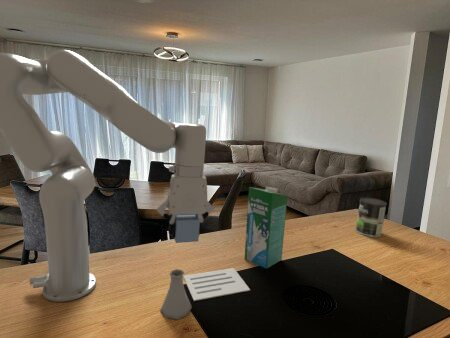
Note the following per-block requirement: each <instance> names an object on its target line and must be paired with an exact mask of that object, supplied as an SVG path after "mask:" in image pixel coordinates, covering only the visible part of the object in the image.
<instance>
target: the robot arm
mask: <svg viewBox="0 0 450 338" xmlns="http://www.w3.org/2000/svg"><path fill="white" fill-rule="evenodd" d="M61 93H62V94H63V93H69V94H70V95H71V96H73V97H75V98H76V99H78V101H81V102H82V103H84V104H85V105H87V106H88V107H90V108H91V109H92V110H93V111H95V112H97V113H98V114H99V115H101V116H102V117H103V118H104V119H105V120H107V122H109V123H110V124H112V125H113V126H114V127H115V128H117V130H119V131H120V132H122V133H123V134H124V135H125V136H127V137H128V138H130V139H131V140H133V141H134V142H136V143H137V144H138V145H140V146H142V147H143V148H145V149H147V150H148V151H149V152H152V153H155V154H156V153H157V154H163V153H167V152H168V151H169V150H171V149H175V154H174V155H175V156H174V164H173V165H172V166H168V171H169V172H172V173H174V174H172V175H171V176H170V177H171V178H170V181H169V185H168V186H169V187H168V194H167V199H166V200H164V202H162V203H161V204H160V206H158V207H157V209H156V210H157V212H158V214H159V215H160V216H161V217H163V218H164V219H165V220H166V221H167V223H168V235H170V237H171V239H174V238H175V231H176V224H175V220H176V217H177V215H196V216H197V217H198V218H199V220H200V226H199V233H201V232H202V224H203V223H204V221H205V219H206V218H207V217H208V216H209V215H210V214H211V213H212V212H214V211H215V208H214V206H213V205H212V204H211V203H210V202H209V201H208V182H207V177H206V176H205V175H204V169H205V168H204V167H205V155H206V154H205V152H206V141H207V129H206V127H205V125H203V124H200V123H192V122H191V123H190V122H181V123H180V122H174V121H169V120H166V119H165V120H164V119H161V118H159V117H158V116H156V115H155V114H154V113H152V112H151V111H149V110H148V109H147V108H145V107H144V106H143V105H141V104H140V103H139V102H137V101H136V100H135V98H134V97H132V95H130V93H129V92H128V91H127V90H126V88H125V87H123V86H122V85H121V84H119V83H118V82H117V81H115V80H113V78H111V77H109V76H108V75H107V74H105V73H104V72H102V71H101V70H100V69H98V68H97V67H95V66H94V65H93V64H92V63H91V61H90V60H88V59H87V58H85V57H84V56H82V55H80V54H78V53H76V52H74V51H71V50H69V49H68V50H67V49H60V50H56V51H54V52H52V53H51V54H50V55H49V56H48V57H47V59H40V60H32V59H29V58H26V57H24V56H21V55H17V54H14V53H10V52H9V53H8V52H0V133H1V134H2V135H3V137H4V139H5V140H6V142H7V143H8V144H9V147H11V149H12V150H13V152H14V153H15V155H16V156H17V158H18V160H19V161H20V162H21V163H22V165H23V166H24V167H25V168H26V169H27V170H29V171H31V172H34V173H44V172H48V171H49V172H50V173H51V175H50V176H49V177H47V178H46V179H45V181H44V182H43V183H42V184H41V187H40V188H39V190H40V191H39V194H38V195H39V197H38V198H39V204H40V207H41V210H42V215H43V219H44V220H43V221H44V229H45V242H46V253H47V255H46V256H47V266H48V267H47V269H48V271H47V272H48V273H44V275H35V276H30V278H29V285H30V286H32V289H39V288H42V296H43V297H44V298H45V299H46V300H48V301H50V302H54V303H55V302H57V303H61V302H63V303H64V302H70V301H73V300H77V299H80V298H82V297H84V296H86V295H88V294H89V293H91V292H92V291H93V290H94V289H95V287H96V285H97V278H96V276H95V275H94V274H92V273H91V272H90V256H89V255H90V253H89V235H88V234H89V233H88V219H87V213H86V209H85V200H86V199H87V198H88V197H89V196H90V194H91V193H93V191H94V189H95V186H96V179H95V176H94V173H93V171H92V169H91V168H90V166H89V164H88V163H87V161H86V160H85V158H84V156H83V155H82V152H80V151H79V149H78V147H77V146H76V144H75V143H74V141H73V140H72V139H71V138H70V137H69V136H68V135H66V134H65V133H63V132H61V131H58V130H49V129H48V128H47V127H46V125H45V124H44V122H43V121H42V120H41V119H42V118H40V116H39V113H37V111H36V110H35V109H34V108H33V106H31V104H30V103H28V102H27V100H26V99H25V98H24V96H23V95H31V96H38V95H50V94H61ZM166 209H167V210H168V212H169V213H168V212H166V211H165V210H166Z"/></svg>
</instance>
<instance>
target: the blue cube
mask: <svg viewBox="0 0 450 338" xmlns="http://www.w3.org/2000/svg"><path fill="white" fill-rule="evenodd" d="M175 224H176V231H175V238H173V240H174V242H175V243H176V244H181V243H194V242H199V238H200V232H199V226H200V220H199V218H198V217H197V216H196V215H177V217H176V220H175Z"/></svg>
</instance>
